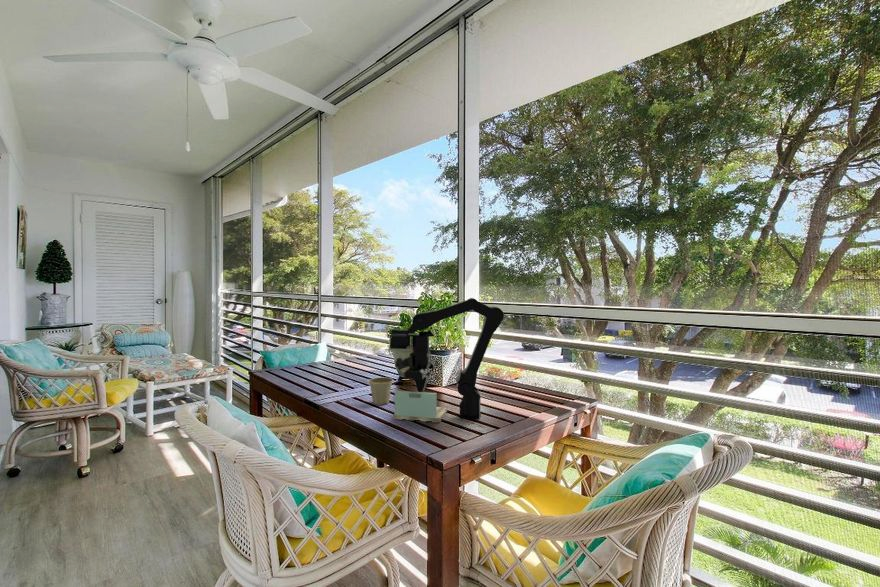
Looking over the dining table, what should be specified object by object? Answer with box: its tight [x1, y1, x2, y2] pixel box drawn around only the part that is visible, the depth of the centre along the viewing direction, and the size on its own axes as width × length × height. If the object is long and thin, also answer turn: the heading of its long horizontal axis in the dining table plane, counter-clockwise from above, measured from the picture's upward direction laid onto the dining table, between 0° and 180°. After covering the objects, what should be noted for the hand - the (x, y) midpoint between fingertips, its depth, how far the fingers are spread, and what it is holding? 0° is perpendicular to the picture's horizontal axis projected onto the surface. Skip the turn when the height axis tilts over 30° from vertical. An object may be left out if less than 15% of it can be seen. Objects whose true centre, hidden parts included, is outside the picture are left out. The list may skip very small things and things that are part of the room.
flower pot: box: [368, 377, 394, 405], centre depth 161 cm, size 9×9×9 cm
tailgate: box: [394, 390, 438, 418], centre depth 139 cm, size 14×2×8 cm, turn 77°
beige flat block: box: [392, 406, 448, 423], centre depth 146 cm, size 16×12×2 cm
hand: (420, 394), depth 145 cm, fingers closed
